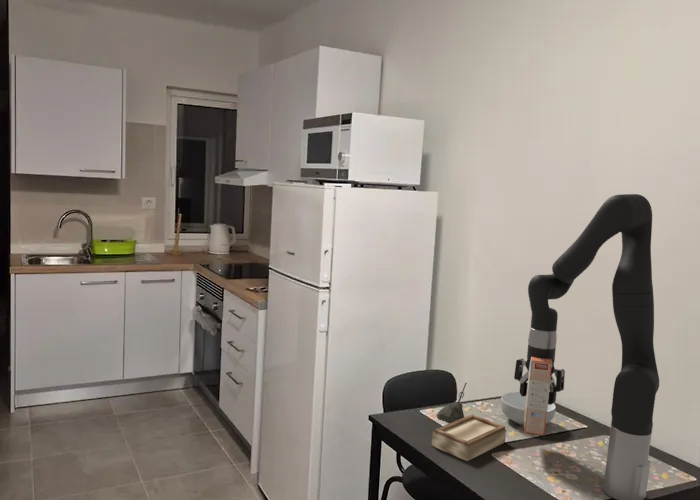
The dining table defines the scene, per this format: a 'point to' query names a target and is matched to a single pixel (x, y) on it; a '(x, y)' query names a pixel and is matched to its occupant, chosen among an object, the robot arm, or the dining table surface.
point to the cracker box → (537, 395)
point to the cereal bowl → (520, 407)
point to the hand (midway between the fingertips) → (536, 399)
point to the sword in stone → (452, 411)
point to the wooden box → (469, 437)
